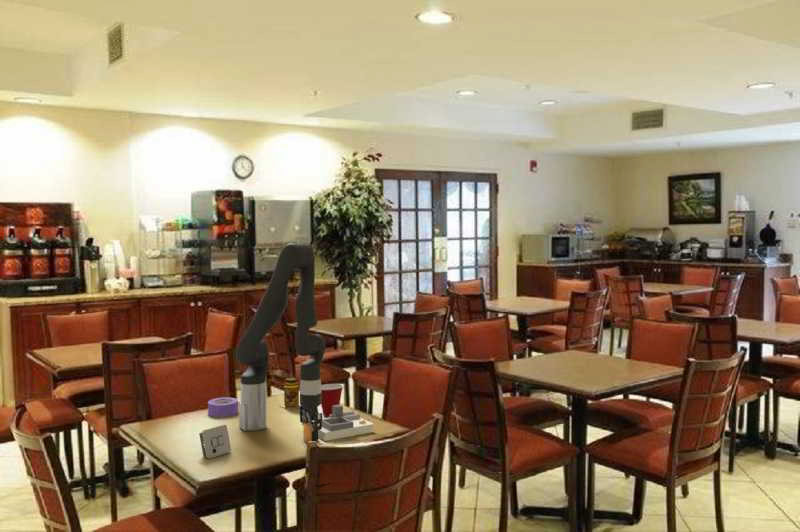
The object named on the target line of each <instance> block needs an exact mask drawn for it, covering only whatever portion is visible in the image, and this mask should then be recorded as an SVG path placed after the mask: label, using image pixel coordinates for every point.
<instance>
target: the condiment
mask: <svg viewBox="0 0 800 532" xmlns="http://www.w3.org/2000/svg"><path fill="white" fill-rule="evenodd" d="M283 391H284V392H283V400H284V401H283V403H284V404H280V405H278V406H279V407H281V408H283V405H284V406H285V408H286V409H285V408H283V409H285V410H287V411H289V410H296V409H299V406H301V405H300V384H299V379H298V378H296V377H287V378H285V379H284V387H283Z"/></svg>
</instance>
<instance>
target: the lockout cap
mask: <svg viewBox="0 0 800 532" xmlns="http://www.w3.org/2000/svg"><path fill="white" fill-rule="evenodd" d="M313 425H314V424H313ZM302 426H303V427H302V430H303V433H302V435H303V438H302V440H303V443H305V442H306V444H308V443H307V442H309V441H312V429H311V425H310V424H309V422H307V423H304V424H303V425H302Z"/></svg>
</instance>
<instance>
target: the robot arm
mask: <svg viewBox="0 0 800 532" xmlns="http://www.w3.org/2000/svg"><path fill="white" fill-rule="evenodd" d="M315 262H316V259H315V252H314V249H313V247H312V246H311V245H309V244H307V243H299V242H298V243H295V242H292V243H287V244H285V245H284V246H283V247H282V249H281V251H280V253H279V256H278V258H277V262H276V265H275V266H274V269H273V270H274V271H273V273H272V276H271V278H270V281H269V283H268V284H267V287H266V290H265V291H264V293H263V294H262V295H263V296H262V297H261V300H260V302H259V304H258V306H257V309H256V311H255V313H254V315H253V318H252V319H251V322H250V324H249V325H248V327H247V329H246V330H245V332H244V334H243V336H242V337H241V338H240V340H239V342H238V344H237V346H236V349H235V359H236V362H237V363H238V364H240V365H241V366H246V367H247V366H248V367H247V369H246V370H245V371H244V372H243V373H242V374H241V375H240V401H238V415H239V417H238V419H239V420H238V421H239V422H238V425H239V428H240V429H242V430H243V431H245V432H246V431H253V432H254V431H259V430H263V429H265V428H267V377H268V372H269V360H270V359H269V358H270V357H269V354H270V353H269V346H268V345H267V342H266V341H265V339H264V337H265V336H266V335H267V334H268V333H269V332H270V331H271V330H272V329H273V328H274V327H275V326H276V324H278V322H279V321H280V320H281V319H282V316H283V315H284V313H285V310H286V309H287V308H288V307H287V306H288V304H289V289H288V286H289V282H290V279H291V277H292V275H293V273H294V272H295V270H298V271H299V279H300V282H299V287H298V292H297V294H296V298H295V302H294V304H295V305H294V308H295V309H294V311H295V318H296V330H295V339H294V349H295V352H297V353H296V354H298V356H301V357H307V356H309V358H308V359H307V360H305V361H304V362H302V363H301V364H300V368H299V371H300V375H299V376H300V378H299V380H300V381H299V405H300V406H299V408H298V409H299V410H298V411H299V422H300V423H302V424H301V425H302V426H303V424H304V423H307V422H309V424H310V425H311V429H312V441H317V442H318V441H319V437H318V430H321V429H322V419H323V412H319V410H318V409H319V408H318V407H319V406H321V385H322V381H321V366H322V363H323V358H324V354H325V350H326V341H325V338H324V337H323V336H322V335H321V334H319V333H313V334H309V331H310V329H312V328H315V327H316V326H318V318H317V311H316V303H315V302H316V301H315V271H316V270H315V268H316V266H315V265H316V263H315ZM312 421H314V422H312ZM313 424H314V425H313Z"/></svg>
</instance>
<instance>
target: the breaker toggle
mask: <svg viewBox="0 0 800 532" xmlns="http://www.w3.org/2000/svg"><path fill="white" fill-rule="evenodd" d="M343 412H344V405H342V404H340V405H333V406H332V418H334V417H340V416H343Z"/></svg>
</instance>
